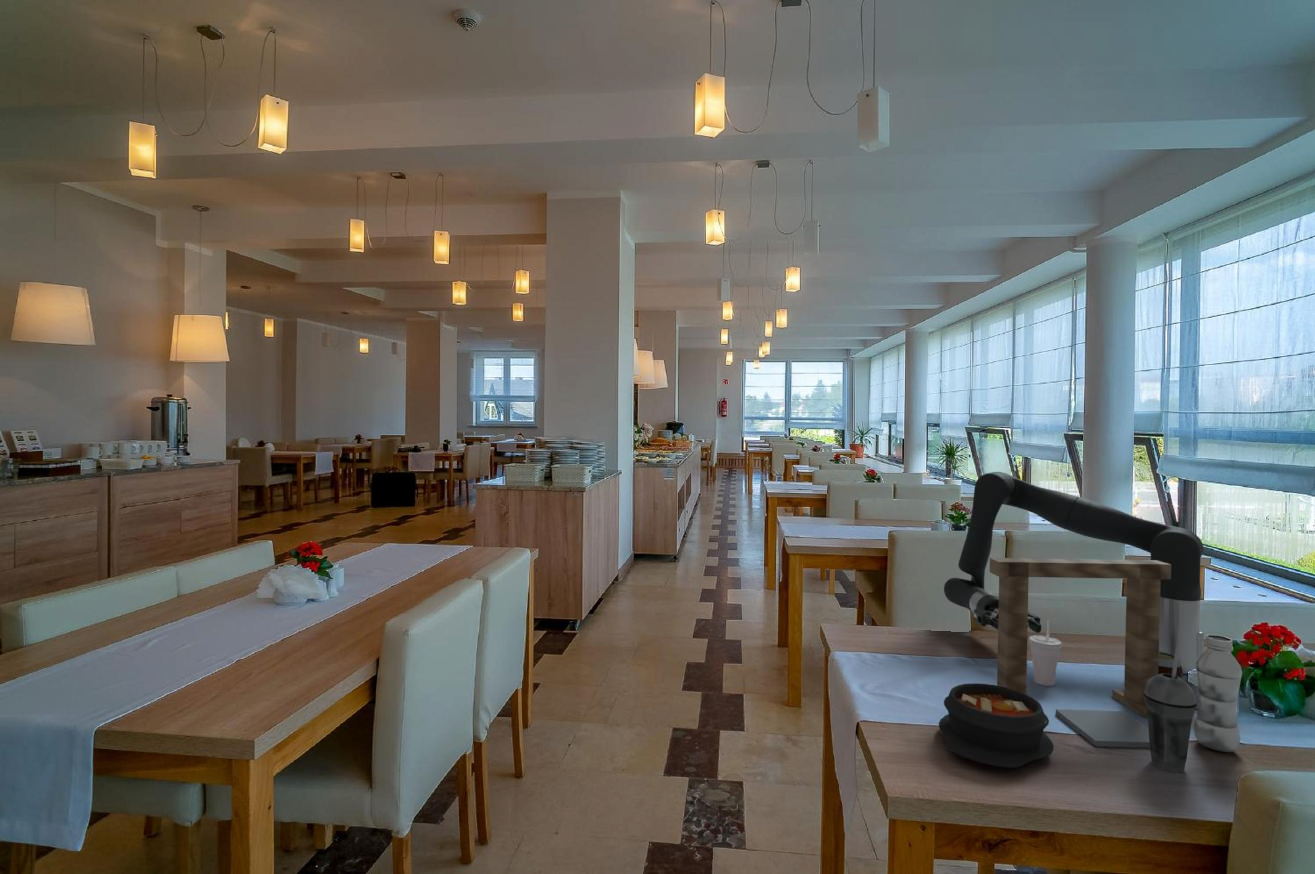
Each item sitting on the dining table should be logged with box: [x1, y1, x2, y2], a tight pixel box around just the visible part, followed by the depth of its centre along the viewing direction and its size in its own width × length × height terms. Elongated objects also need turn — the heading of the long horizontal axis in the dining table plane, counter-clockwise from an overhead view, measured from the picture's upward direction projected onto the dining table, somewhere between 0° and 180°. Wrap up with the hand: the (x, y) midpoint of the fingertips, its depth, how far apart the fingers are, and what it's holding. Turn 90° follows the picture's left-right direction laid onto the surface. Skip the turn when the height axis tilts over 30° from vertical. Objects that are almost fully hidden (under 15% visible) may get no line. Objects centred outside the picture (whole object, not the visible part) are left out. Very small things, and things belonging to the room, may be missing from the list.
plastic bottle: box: [1192, 634, 1243, 753], centre depth 119 cm, size 6×7×20 cm
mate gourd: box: [1158, 637, 1184, 679], centre depth 143 cm, size 8×8×15 cm
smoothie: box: [1028, 620, 1062, 687], centre depth 148 cm, size 6×6×14 cm
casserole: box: [938, 682, 1055, 769], centre depth 120 cm, size 25×19×8 cm
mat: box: [1055, 708, 1150, 749], centre depth 126 cm, size 13×13×1 cm
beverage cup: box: [1143, 649, 1198, 773], centre depth 113 cm, size 7×7×20 cm
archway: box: [989, 557, 1171, 719], centre depth 136 cm, size 34×10×30 cm, turn 87°
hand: (1020, 628), depth 159 cm, fingers open, 8 cm apart
